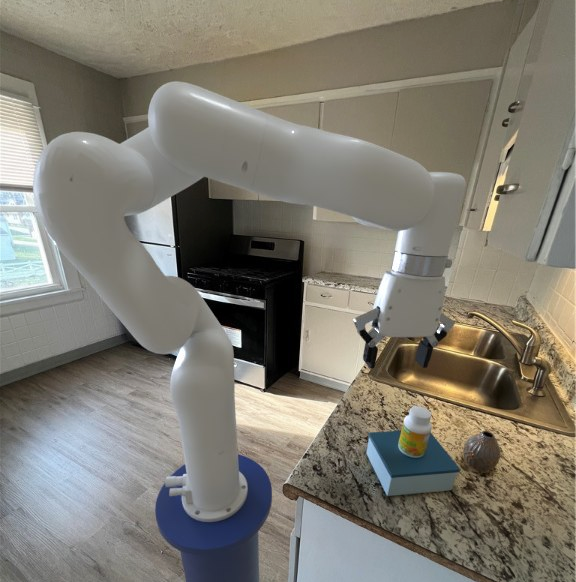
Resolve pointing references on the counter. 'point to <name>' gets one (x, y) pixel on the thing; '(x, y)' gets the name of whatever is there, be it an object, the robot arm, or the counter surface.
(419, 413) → the supplement bottle
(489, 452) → the vase
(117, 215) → the robot arm
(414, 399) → the counter surface
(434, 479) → the blue two-tone box
